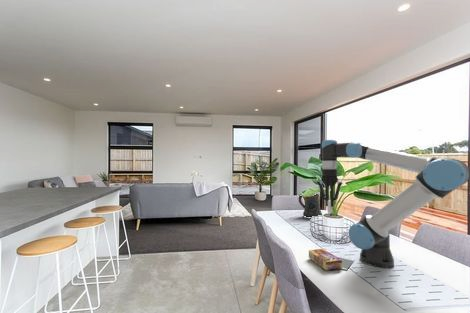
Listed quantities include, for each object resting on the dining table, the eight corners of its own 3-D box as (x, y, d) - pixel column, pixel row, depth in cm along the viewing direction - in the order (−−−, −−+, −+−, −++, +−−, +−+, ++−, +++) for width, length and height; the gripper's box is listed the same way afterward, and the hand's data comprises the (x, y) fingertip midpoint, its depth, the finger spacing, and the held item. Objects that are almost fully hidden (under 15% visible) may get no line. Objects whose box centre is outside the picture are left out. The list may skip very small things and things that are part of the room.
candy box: (308, 258, 127) (325, 270, 112) (308, 249, 127) (325, 261, 112) (323, 256, 129) (342, 268, 114) (323, 248, 129) (342, 259, 114)
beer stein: (325, 219, 213) (325, 190, 213) (305, 220, 208) (305, 191, 209) (315, 214, 229) (315, 188, 229) (296, 215, 225) (296, 189, 225)
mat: (354, 261, 124) (354, 260, 124) (346, 270, 113) (346, 269, 113) (325, 254, 133) (325, 253, 133) (316, 262, 122) (316, 261, 122)
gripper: (344, 168, 129) (344, 213, 128) (319, 168, 136) (319, 210, 136) (340, 169, 123) (341, 215, 122) (315, 168, 130) (315, 212, 130)
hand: (329, 212), depth 129 cm, fingers closed
